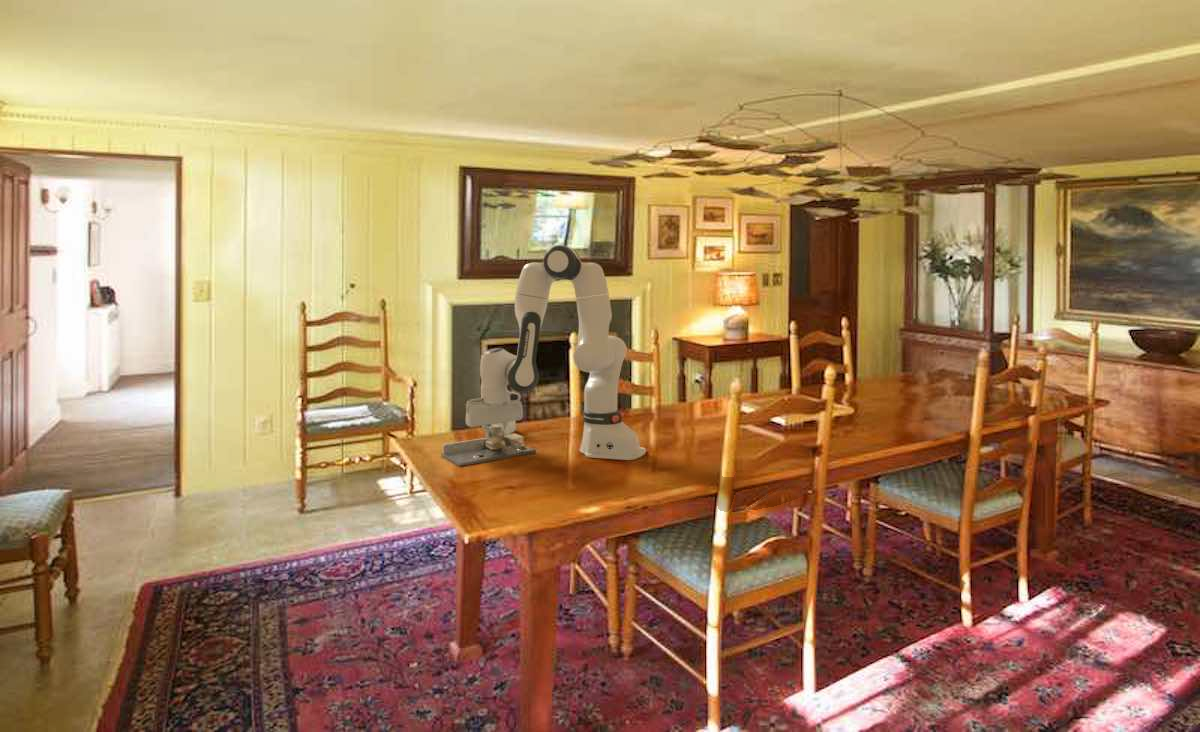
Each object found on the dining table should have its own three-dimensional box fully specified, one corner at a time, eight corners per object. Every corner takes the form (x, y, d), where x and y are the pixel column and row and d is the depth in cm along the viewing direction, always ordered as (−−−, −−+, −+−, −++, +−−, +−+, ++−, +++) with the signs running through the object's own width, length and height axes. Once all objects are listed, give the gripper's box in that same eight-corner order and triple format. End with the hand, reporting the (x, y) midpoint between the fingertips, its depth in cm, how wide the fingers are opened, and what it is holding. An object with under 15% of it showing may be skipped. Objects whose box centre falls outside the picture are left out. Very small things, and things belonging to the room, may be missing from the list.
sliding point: (498, 444, 258) (498, 424, 257) (511, 450, 250) (511, 430, 249) (485, 446, 255) (484, 426, 254) (498, 452, 247) (497, 432, 246)
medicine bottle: (516, 430, 282) (515, 399, 280) (508, 435, 275) (508, 403, 274) (498, 429, 284) (497, 398, 282) (490, 433, 277) (490, 402, 275)
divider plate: (515, 443, 263) (515, 432, 263) (535, 452, 252) (535, 441, 251) (441, 456, 248) (440, 444, 247) (459, 466, 236) (458, 454, 236)
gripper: (469, 401, 243) (470, 442, 245) (524, 394, 255) (525, 433, 257) (461, 398, 248) (462, 438, 250) (515, 391, 260) (516, 430, 262)
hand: (495, 436), depth 254 cm, fingers closed on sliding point, 3 cm apart
